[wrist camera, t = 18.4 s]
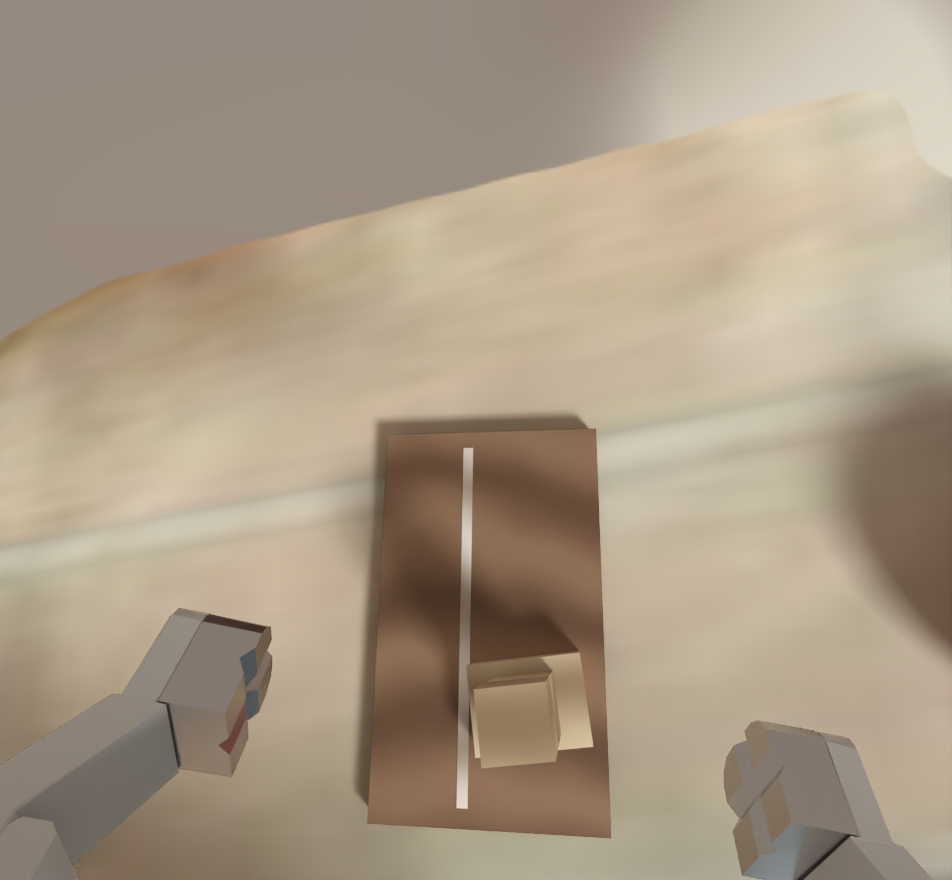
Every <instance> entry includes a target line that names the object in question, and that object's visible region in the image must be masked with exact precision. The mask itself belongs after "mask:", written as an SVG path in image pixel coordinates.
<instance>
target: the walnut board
mask: <svg viewBox="0 0 952 880" xmlns="http://www.w3.org/2000/svg"><path fill="white" fill-rule="evenodd" d="M578 651H580V658H581V664H582V671H583V678H584V685H585V691H586V698H587V705H588V712H589V718H590V725H591V732H592V739H593V747H587V748H577V749H566V750H558V753H557V758H556V762H546V763H535V764H524V765H513V766H503V767H492V768H481V759H480V758H475V750H474V740H473V730H472V720H471V710H470V700H469V690H468V680H467V670H466V665H469V664H472V663H479V662H488V661H497V660H506V659H515V658H524V657H533V656H542V655H551V654H560V653H569V652H578ZM367 823H368V824H384V825H401V826H417V827H434V828H450V829H467V830H483V831H500V832H516V833H533V834H550V835H566V836H583V837H599V838H611V820H610V793H609V767H608V740H607V713H606V687H605V660H604V633H603V607H602V580H601V553H600V526H599V500H598V473H597V446H596V429H569V430H536V431H503V432H470V433H437V434H404V435H388V442H387V460H386V479H385V498H384V517H383V536H382V555H381V574H380V593H379V612H378V631H377V650H376V669H375V688H374V707H373V726H372V745H371V764H370V783H369V802H368V821H367Z"/></svg>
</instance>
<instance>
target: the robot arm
mask: <svg viewBox="0 0 952 880" xmlns="http://www.w3.org/2000/svg"><path fill="white" fill-rule="evenodd" d="M271 640H272V638H271V627H269V626H264V625H259V624H255V623H250V622H245V621H240V620H235V619H231V618H226V617H221V616H216V615H211V614H208V613H203V612H198V611H193V610H187V609H182V608H178V609H177V610H176V611H175V612H174V613H173V614H172V615H171V616H170V617H169V619H168V620H167V622H166V624H165V625H164V627H163V629H162V630H161V632H160V633H159V635H158V637H157V638H156V640H155V642H154V643H153V645H152V646H151V648H150V650H149V651H148V653H147V654H146V656H145V658H144V659H143V661H142V663H141V664H140V666H139V667H138V669H137V671H136V672H135V674H134V676H133V677H132V679H131V680H130V682H129V684H128V685H127V687H126V689H125V690H124V692H123V693H122V695H117V694H111V695H109V696H108V697H106V698H105V699H103V700H101V701H100V702H98V703H97V704H95V705H94V706H92V707H90V708H89V709H87V710H86V711H84V712H83V713H81V714H79V715H78V716H76V717H75V718H73V719H72V720H70V721H68V722H67V723H65V724H64V725H62V726H61V727H59V728H57V729H56V730H54V731H53V732H51V733H50V734H48V735H46V736H45V737H43V738H42V739H40V740H39V741H37V742H35V743H34V744H32V745H31V746H29V747H27V748H26V749H24V750H23V751H21V752H20V753H18V754H16V755H15V756H13V757H12V758H10V759H9V760H7V761H5V762H4V763H2V764H1V765H0V880H79V878H78V876H77V874H76V872H75V870H74V867H73V865H74V864H75V863H76V862H77V861H78V860H80V859H81V858H82V857H83V856H84V855H85V854H86V853H88V852H89V851H90V850H91V849H92V848H93V847H94V846H95V845H97V844H98V843H99V842H100V841H101V840H102V839H103V838H105V837H106V836H107V835H108V834H109V833H110V832H111V831H112V830H114V829H115V828H116V827H117V826H118V825H119V824H120V823H122V822H123V821H124V820H125V819H126V818H127V817H128V816H129V815H131V814H132V813H133V812H134V811H135V810H136V809H137V808H139V807H140V806H141V805H142V804H143V803H144V802H145V801H146V800H148V799H149V798H150V797H151V796H152V795H153V794H154V793H156V792H157V791H158V790H159V789H160V788H161V787H162V786H163V785H165V784H166V783H167V782H168V781H169V780H170V779H171V778H173V777H174V776H175V775H176V774H177V773H178V772H179V770H178V768H179V769H185V770H191V771H197V772H203V773H210V774H216V775H222V776H228V777H232V776H233V773H234V771H235V768H236V766H237V764H238V761H239V759H240V756H241V754H242V752H243V749H244V747H245V744H246V742H247V740H248V722H247V721H248V720H249V719H250V718H252V717H253V716H254V715H256V714H257V713H258V712H259V711H260V708H261V705H262V703H263V700H264V698H265V695H266V692H267V688H268V685H269V681H270V677H271V670H272V655H271V654H270V653H269V652H268V651H267V649H268V647H269V644H270V642H271ZM745 735H746V740H747V741H744V742H742V743H739V744H736V745H734V746H733V748H732V749H731V751H730V752H729V754H728V756H727V758H726V763H725V768H724V789H725V794H726V799H727V803H728V804H729V806H730V807H731V808H732V810H733V811H734V812H735V814H736V815H737V816H738V818H739V820H738V822H737V824H736V826H735V828H734V830H733V834H734V839H735V844H736V849H737V854H738V858H739V863H740V868H741V873H742V875H744V876H748V877H753V878H757V879H762V880H933V879H932V878H931V877H930V876H929V875H928V874H927V872H926V871H925V870H924V869H923V868H922V867H921V866H920V865H919V864H918V862H917V861H916V860H915V859H914V858H913V857H912V856H911V855H910V854H909V853H908V851H907V850H906V849H905V848H904V847H903V846H900V845H896V844H893V841H892V839H891V836H890V834H889V831H888V829H887V826H886V824H885V821H884V818H883V816H882V813H881V811H880V808H879V806H878V803H877V801H876V798H875V795H874V793H873V790H872V788H871V785H870V783H869V780H868V778H867V775H866V772H865V770H864V767H863V765H862V762H861V760H860V757H859V754H858V752H857V749H856V747H855V745H854V744H853V743H852V742H851V740H850V739H848V738H846V737H843V736H837V735H832V734H826V733H820V732H815V731H814V730H809V729H803V728H798V727H792V726H786V725H781V724H775V723H769V722H764V721H755V722H751V723H750V724H749V726H748V727H747V728H746V730H745Z"/></svg>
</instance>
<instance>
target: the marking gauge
mask: <svg viewBox="0 0 952 880" xmlns="http://www.w3.org/2000/svg"><path fill="white" fill-rule="evenodd" d="M466 670H467V680H468V690H469V700H470V710H471V720H472V730H473V740H474V750H475V758H480V759H481V768H492V767H503V766H513V765H524V764H535V763H546V762H556V758H557V753H558V750H566V749H577V748H587V747H593V739H592V732H591V725H590V718H589V712H588V705H587V698H586V691H585V685H584V678H583V671H582V664H581V658H580V651H578V652H569V653H560V654H551V655H542V656H533V657H524V658H515V659H506V660H497V661H488V662H479V663H472V664H469V665H466Z"/></svg>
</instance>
